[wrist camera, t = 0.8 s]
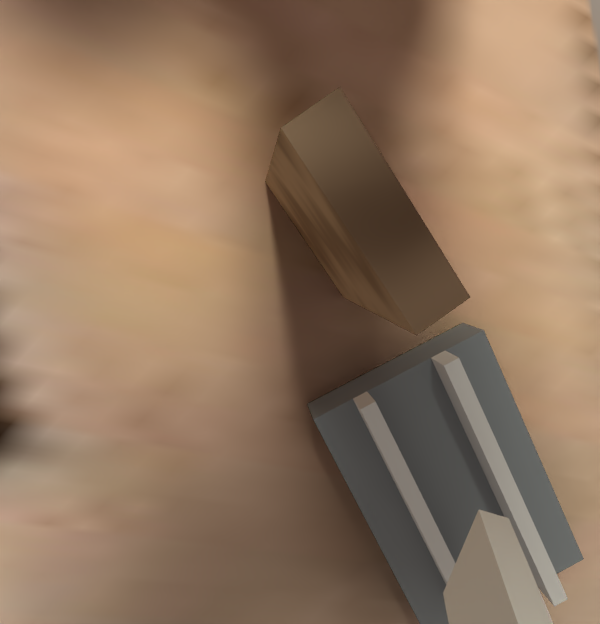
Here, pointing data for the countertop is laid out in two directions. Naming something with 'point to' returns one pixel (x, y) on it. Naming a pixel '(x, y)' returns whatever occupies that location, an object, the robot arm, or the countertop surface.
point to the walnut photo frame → (360, 217)
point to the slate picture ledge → (443, 465)
